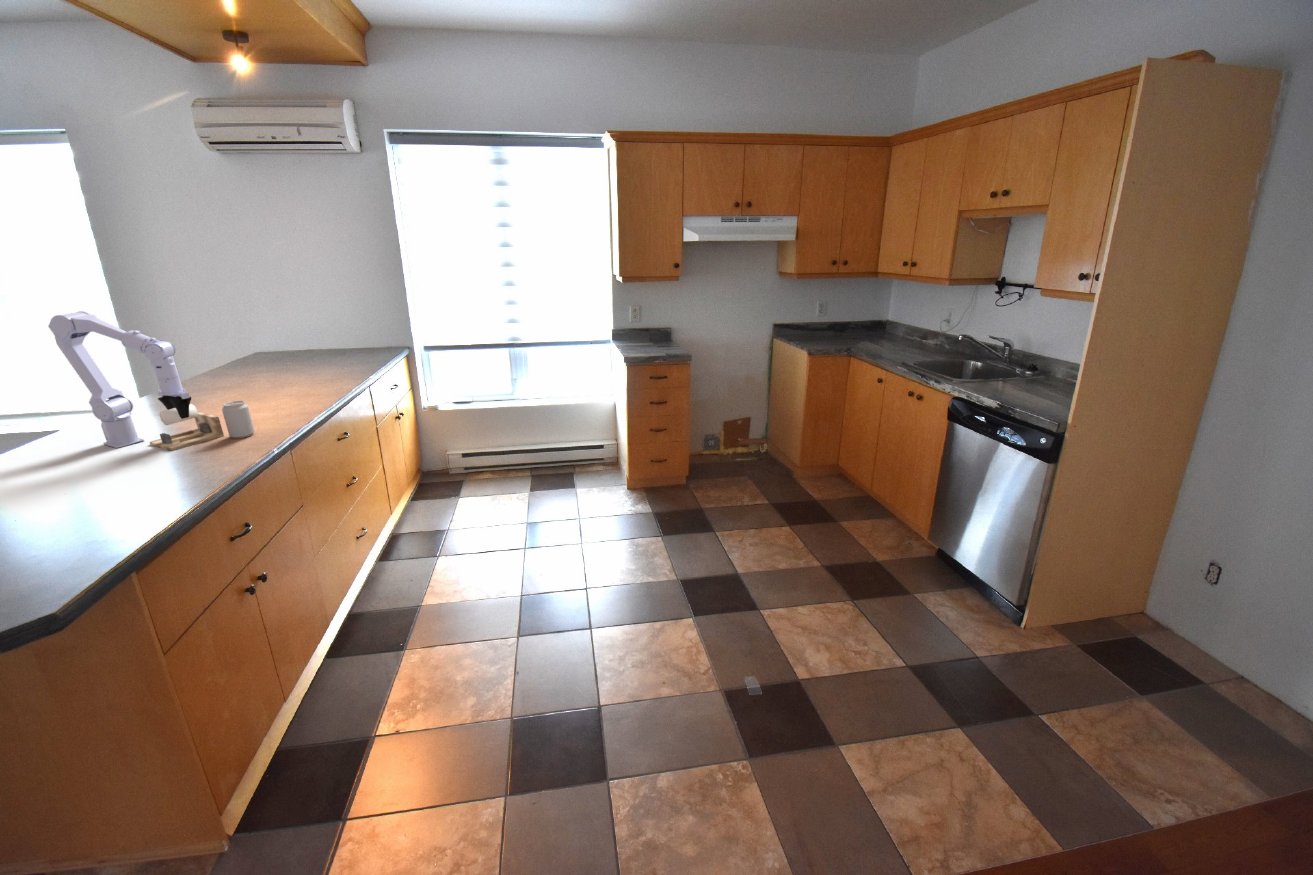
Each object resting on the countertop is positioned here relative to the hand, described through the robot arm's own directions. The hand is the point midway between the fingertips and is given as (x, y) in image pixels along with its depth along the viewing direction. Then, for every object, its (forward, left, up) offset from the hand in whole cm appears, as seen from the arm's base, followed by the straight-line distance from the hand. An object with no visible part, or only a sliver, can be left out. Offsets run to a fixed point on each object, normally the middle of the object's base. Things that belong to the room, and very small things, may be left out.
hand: (180, 416), depth 202 cm
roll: (0, 0, -2) cm, 2 cm away
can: (+13, +11, -9) cm, 19 cm away
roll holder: (0, 0, -8) cm, 8 cm away
